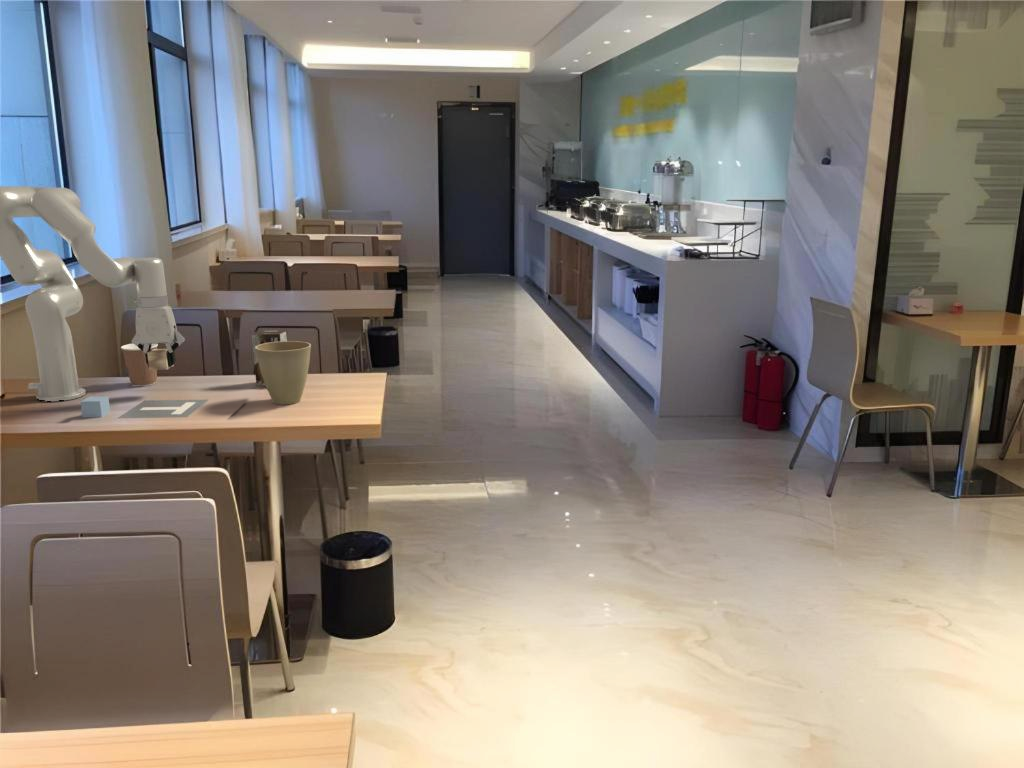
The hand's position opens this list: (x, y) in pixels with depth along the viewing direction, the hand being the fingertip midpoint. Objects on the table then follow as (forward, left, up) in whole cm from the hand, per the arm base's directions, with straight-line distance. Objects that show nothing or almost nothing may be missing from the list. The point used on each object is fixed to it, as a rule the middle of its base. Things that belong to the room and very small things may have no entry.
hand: (161, 365), depth 237 cm
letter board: (+6, -15, -9) cm, 19 cm away
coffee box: (+28, +14, -10) cm, 32 cm away
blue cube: (-10, -20, -9) cm, 24 cm away
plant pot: (+37, -7, -10) cm, 39 cm away
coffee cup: (-12, +16, -10) cm, 22 cm away
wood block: (0, 0, -1) cm, 1 cm away
